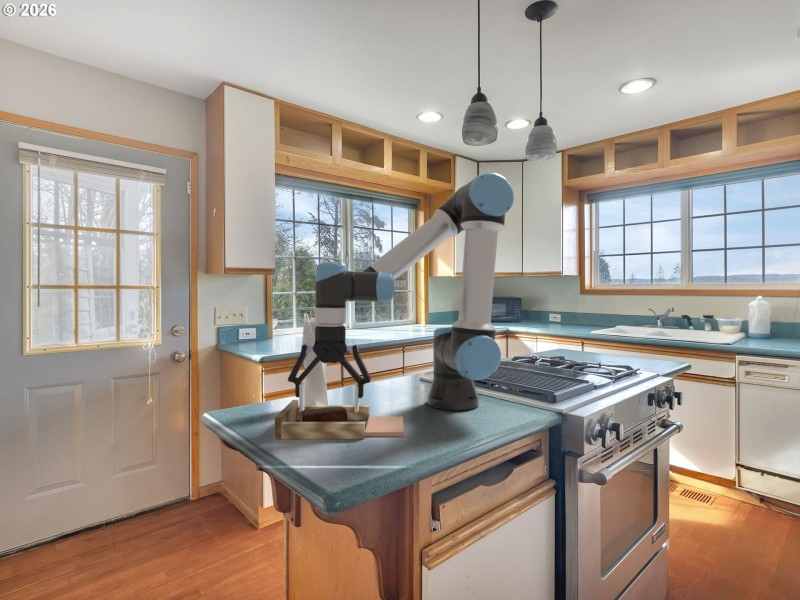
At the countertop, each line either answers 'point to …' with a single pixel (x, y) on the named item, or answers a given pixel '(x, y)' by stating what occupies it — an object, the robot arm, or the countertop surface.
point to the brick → (325, 415)
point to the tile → (385, 426)
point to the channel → (320, 423)
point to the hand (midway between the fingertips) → (329, 410)
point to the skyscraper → (316, 377)
